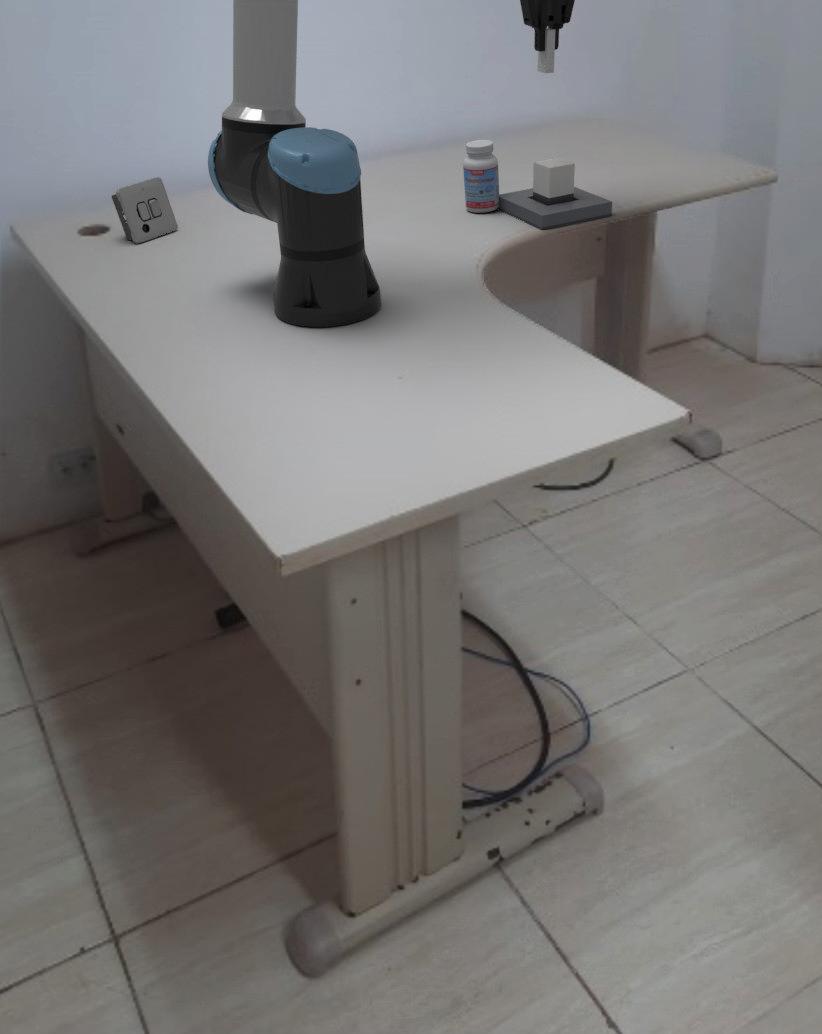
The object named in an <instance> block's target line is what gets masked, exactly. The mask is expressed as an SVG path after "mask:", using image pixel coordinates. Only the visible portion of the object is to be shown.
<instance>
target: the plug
mask: <svg viewBox="0 0 822 1034" xmlns="http://www.w3.org/2000/svg"><path fill="white" fill-rule="evenodd" d="M575 165H576V163H574V162H572V161H568V160H566V159H563V158H561V157H555V158H550V159H544V160H538V161H533V170H532V171H533V172H532V173H533V175H532V177H533V178H532V179H533V180H532V185H533V187H532V188H533V200H535V201H537V202H540V203H542V204H544V205H547V206H549V205H554V204H559V203H565V202H570V201H573V200H574V187H575V173H576V172H575V170H576V169H575V168H576V167H575Z"/></svg>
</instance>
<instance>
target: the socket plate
mask: <svg viewBox="0 0 822 1034" xmlns="http://www.w3.org/2000/svg"><path fill="white" fill-rule="evenodd" d="M497 209H499V210H498V211H500V210H501V211H500V212H502V211H503V212H502V213H504V212H505V213H504V214H506V213H507V214H506V215H508V214H509V216H510V215H511V217H513V216H514V217H513V218H515V217H516V218H515V219H517V218H518V220H519V219H520V220H519V221H521V220H522V221H521V222H523V221H524V223H526V224H528V225H530V226H532V227H535V228H536V229H539V230H540V231H544V230H548V229H554V228H559V227H563V226H568V225H573V224H578V223H582V222H586V221H587V222H588V221H592V220H597V219H603V218H608V217H611V216H613V214H612V213H613V201H612V200H609V199H607V198H604V197H602V196H599V195H596V194H594V193H591V192H588V191H587V190H583V189H581V188H579V187H575V186H574V200H573V201H570V202H565V203H559V204H554V205H549V206H547V205H544V204H542V203H540V202H537V201H535V200H533V187H532V188H526V189H522V190H515V191H511V192H506V193H501V194H500V193H499V207H498V208H497ZM497 209H496V210H497Z"/></svg>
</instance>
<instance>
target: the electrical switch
mask: <svg viewBox="0 0 822 1034" xmlns="http://www.w3.org/2000/svg"><path fill="white" fill-rule="evenodd" d="M111 199H112V202H113V205H114V208H115V210H116V213H117V215H118V219H119V222H120V223H121V226H122V227H121V228H122V230H123V232H124V235H125V237H126V241H131V240H132V242H133V243H135V244H136V243H138V244H141V243H144V242H147V241H150V240H153V239H156V238H158V236H159V237H161V235H162V236H164V235H167V234H169V233H170V234H171V233H173V232H175V231H177V230H178V228H179V227H178V226H179V225H178V223H177V220H176V218H175V214H174V211H173V208H172V205H171V203H170V199H169V197H168V194H167V191H166V188H165V185H164V182H163V179H162V178H161V177H159V176H157V177H156V176H155V177H152V178H149V179H146V180H142V181H139V182H136V183H132V184H129V185H125V186H122V187H119V188H116V190H115V194H113V195H112V194H111ZM172 231H173V232H172ZM166 233H167V234H166Z"/></svg>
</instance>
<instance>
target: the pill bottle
mask: <svg viewBox="0 0 822 1034" xmlns="http://www.w3.org/2000/svg"><path fill="white" fill-rule="evenodd" d="M465 151H466V155H467V156H466V157H465V158H464V159H463V163H462V165H463V166H462V167H463V169H462V170H463V182H464V186H463V187H464V199H465V200H464V201H465V208H466V210H467V211H469V212H470V213H475V214H476V213H477V214H483V213H489V212H490V213H491V212H493V211H496V210H497V208H498V207H499V195H500V181H499V180H500V178H499V161H498V158H497V156H496V155H494V154H493V152H494V141H492V140H489V139H476V140H472V141H469V142H467V143H466V144H465Z"/></svg>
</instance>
